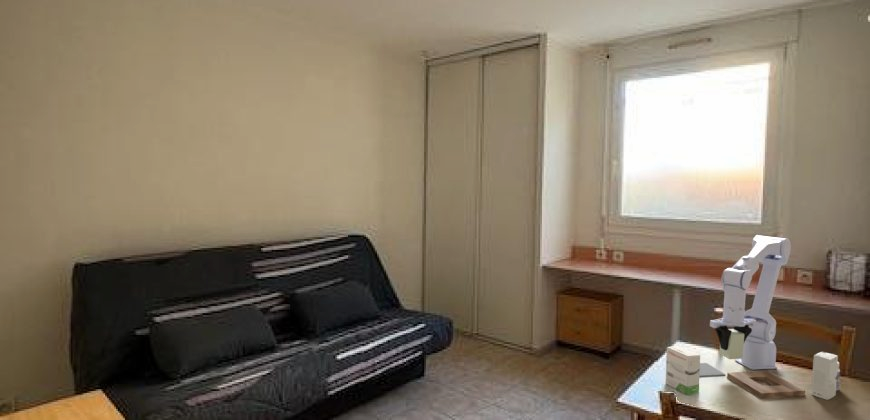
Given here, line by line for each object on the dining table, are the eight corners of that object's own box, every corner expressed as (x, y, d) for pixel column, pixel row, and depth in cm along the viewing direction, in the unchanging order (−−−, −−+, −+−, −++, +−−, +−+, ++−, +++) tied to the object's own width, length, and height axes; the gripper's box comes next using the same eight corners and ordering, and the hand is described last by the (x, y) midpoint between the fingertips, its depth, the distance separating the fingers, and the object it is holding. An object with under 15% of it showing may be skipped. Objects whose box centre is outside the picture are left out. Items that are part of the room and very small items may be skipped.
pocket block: (766, 375, 158) (767, 370, 158) (804, 395, 145) (805, 390, 144) (727, 377, 157) (727, 372, 156) (761, 398, 143) (761, 393, 143)
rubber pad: (706, 364, 167) (706, 362, 167) (725, 375, 158) (725, 374, 158) (681, 365, 166) (681, 364, 166) (699, 376, 157) (699, 375, 157)
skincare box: (828, 400, 142) (831, 360, 141) (809, 394, 146) (813, 354, 144) (836, 395, 145) (840, 355, 144) (818, 389, 149) (821, 350, 148)
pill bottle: (833, 392, 147) (836, 365, 146) (815, 386, 151) (817, 359, 150) (841, 389, 149) (844, 362, 148) (823, 382, 153) (825, 356, 152)
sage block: (732, 353, 159) (733, 328, 158) (742, 358, 154) (744, 333, 153) (719, 353, 158) (720, 329, 157) (729, 359, 154) (731, 334, 153)
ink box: (699, 393, 146) (702, 354, 145) (686, 395, 144) (689, 356, 143) (676, 380, 154) (678, 344, 153) (664, 383, 152) (666, 346, 151)
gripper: (722, 311, 150) (719, 354, 151) (764, 309, 152) (761, 352, 153) (706, 304, 157) (703, 346, 158) (747, 303, 159) (744, 344, 160)
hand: (731, 348), depth 156 cm, fingers closed on sage block, 4 cm apart
